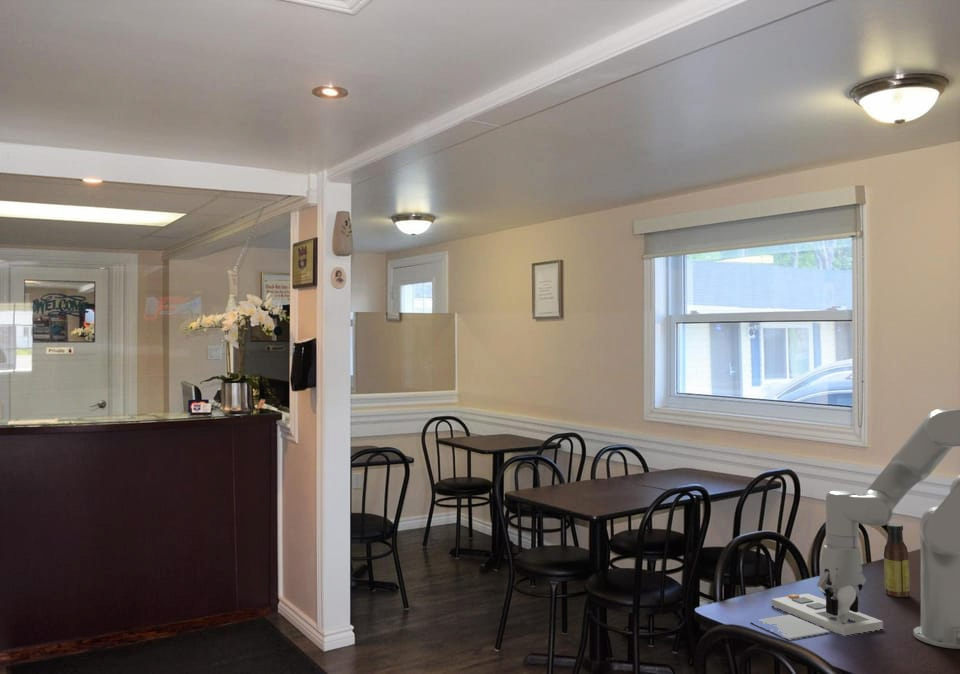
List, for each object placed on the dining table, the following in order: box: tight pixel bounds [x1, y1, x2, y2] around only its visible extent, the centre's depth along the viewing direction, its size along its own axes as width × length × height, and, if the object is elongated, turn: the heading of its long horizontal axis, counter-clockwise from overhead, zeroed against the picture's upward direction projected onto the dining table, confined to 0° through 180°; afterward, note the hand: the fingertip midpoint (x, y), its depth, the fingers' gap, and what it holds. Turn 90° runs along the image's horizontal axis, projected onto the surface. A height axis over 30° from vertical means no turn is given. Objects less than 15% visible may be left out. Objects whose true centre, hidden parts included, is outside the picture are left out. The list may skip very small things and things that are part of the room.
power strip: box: [770, 593, 884, 636], centre depth 203 cm, size 24×13×3 cm, turn 23°
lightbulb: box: [830, 586, 856, 624], centre depth 198 cm, size 6×6×11 cm
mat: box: [758, 613, 831, 640], centre depth 195 cm, size 13×13×1 cm
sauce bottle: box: [883, 522, 911, 598], centre depth 223 cm, size 7×6×20 cm
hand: (841, 611), depth 198 cm, fingers closed on lightbulb, 6 cm apart
